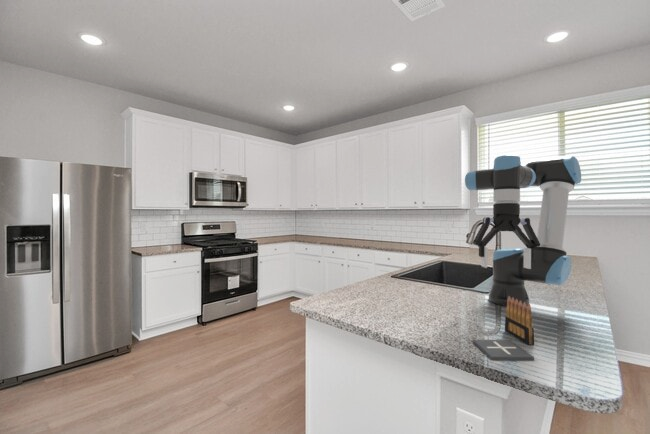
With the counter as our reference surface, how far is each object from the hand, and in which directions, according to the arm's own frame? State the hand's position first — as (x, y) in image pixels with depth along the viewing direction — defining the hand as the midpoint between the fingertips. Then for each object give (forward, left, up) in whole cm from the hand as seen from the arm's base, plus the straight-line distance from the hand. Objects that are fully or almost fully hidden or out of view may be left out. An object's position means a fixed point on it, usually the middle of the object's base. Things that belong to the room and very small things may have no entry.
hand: (505, 267), depth 100 cm
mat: (+9, +15, -21) cm, 27 cm away
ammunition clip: (-1, +6, -21) cm, 22 cm away
